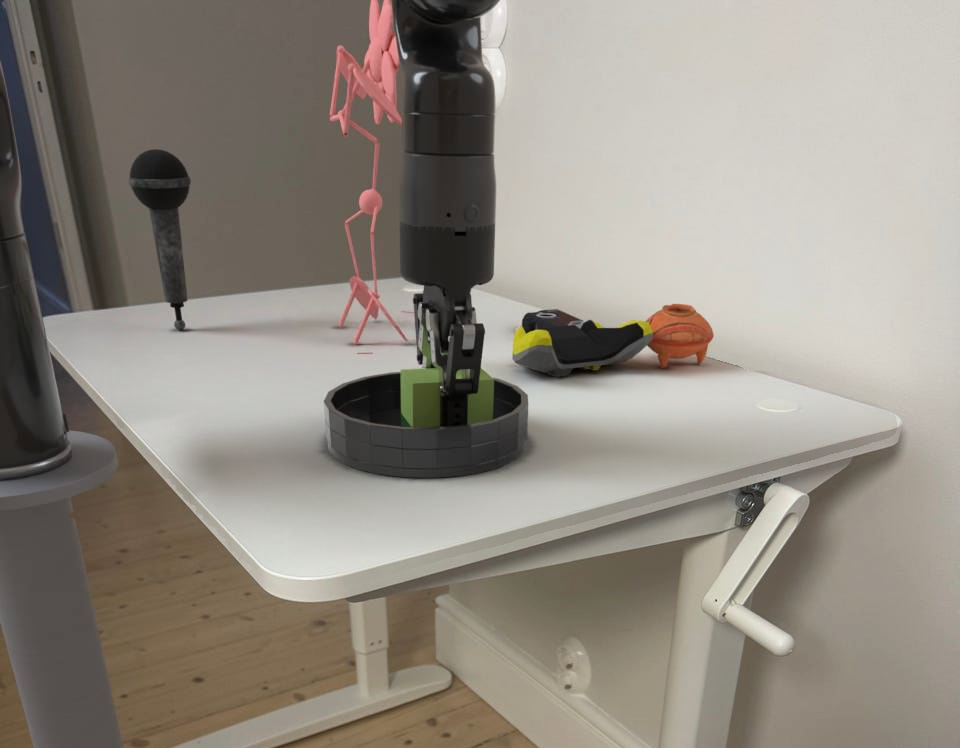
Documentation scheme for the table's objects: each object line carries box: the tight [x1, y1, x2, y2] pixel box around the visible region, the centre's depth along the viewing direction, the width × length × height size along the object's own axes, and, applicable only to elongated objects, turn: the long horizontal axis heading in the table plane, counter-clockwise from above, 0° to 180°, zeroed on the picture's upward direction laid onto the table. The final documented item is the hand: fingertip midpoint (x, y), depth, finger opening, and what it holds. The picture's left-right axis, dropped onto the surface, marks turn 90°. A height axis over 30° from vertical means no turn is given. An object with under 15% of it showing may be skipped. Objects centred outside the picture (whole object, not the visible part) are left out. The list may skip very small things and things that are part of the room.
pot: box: [644, 303, 714, 368], centre depth 109 cm, size 8×8×7 cm
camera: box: [521, 308, 585, 332], centre depth 120 cm, size 6×3×11 cm
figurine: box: [329, 0, 414, 355], centre depth 113 cm, size 15×26×35 cm, turn 18°
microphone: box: [128, 148, 192, 331], centre depth 116 cm, size 7×7×20 cm
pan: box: [323, 371, 529, 479], centre depth 85 cm, size 17×17×4 cm
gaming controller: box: [512, 319, 653, 377], centre depth 105 cm, size 15×6×10 cm
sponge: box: [400, 367, 494, 427], centre depth 84 cm, size 7×4×5 cm, turn 107°
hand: (445, 428), depth 86 cm, fingers closed on sponge, 4 cm apart
